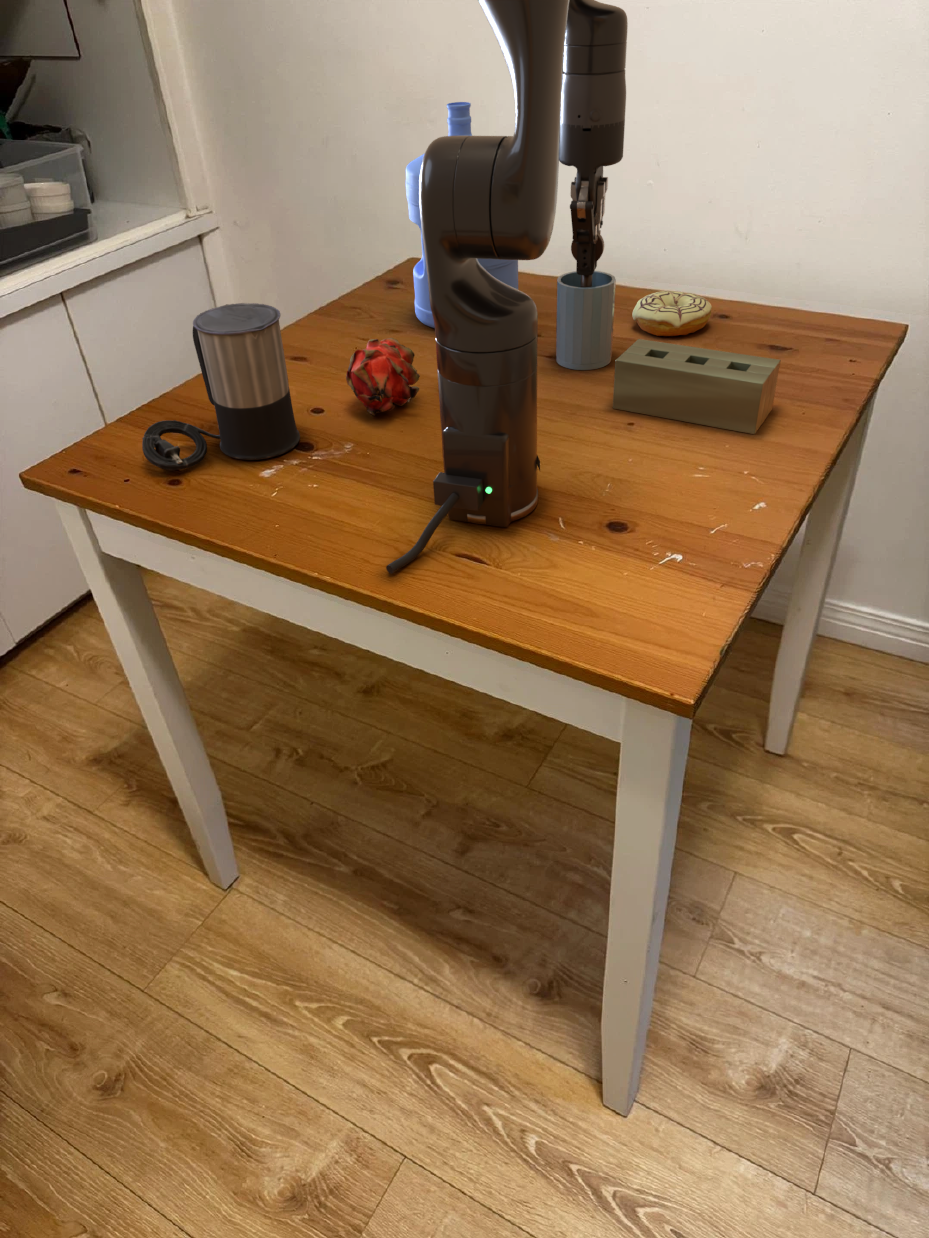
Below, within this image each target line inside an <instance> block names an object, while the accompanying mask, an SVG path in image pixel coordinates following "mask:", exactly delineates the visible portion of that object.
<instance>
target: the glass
mask: <svg viewBox="0 0 929 1238" xmlns="http://www.w3.org/2000/svg"><path fill="white" fill-rule="evenodd" d="M616 283H617V278H616V277H615V276H614V275H613V274H611V273H609V272H605V271H601V270H595V271H594V273H593V274H592V287H581V275H578V274H577V272H576V270H575V271H570V272H566V273H563V274H561V275H559V276H558V277H557V279H556V316H555V317H556V318H555V321H556V325H555V361H556V363H557V364H558V365H559V366H561V367H563V368H565V369H569V370H575V371H592V370H597V369H598V370H599V369H601V368H604V367H606V366H608V365H609V364H611V361H612V354H613V341H614V322H615V321H614V320H615V303H616Z"/></svg>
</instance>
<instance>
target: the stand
mask: <svg viewBox="0 0 929 1238" xmlns="http://www.w3.org/2000/svg"><path fill="white" fill-rule="evenodd" d="M780 365H781V359H777V358H772V357H763V356H757V355H751V354H744V353H737V352H730V351H723V350H717V349H710V348H703V347H697V346H690V345H682V344H677V343H671V342H663V341H657V340H648V339H642V338H637V340H636V341H634V342H633V343H632V344H631V345H630V346H629V347H628V348H627V349H626V350H624V351H623V352H622V353H621V354H620V355H619V356H618V357H617V358H616V359H615V362H614V379H613V395H612V396H613V397H612V409H614V410H618V411H619V410H620V411H625V412H630V413H634V414H635V413H636V414H641V415H648V416H653V417H657V418H662V419H669V420H674V421H679V422H685V423H690V424H696V425H702V426H707V427H712V428H717V429H723V430H728V431H733V432H734V431H735V432H739V433H745V434H750V435H756V433H757V432H758V430H759V429H760V427H761V426H762V425H763V423H764V422H765V420H766V419H767V417H768V416H769V415H770V414H771V412H772V410H773V408H774V402H775V395H776V390H777V384H778V377H779V372H780Z"/></svg>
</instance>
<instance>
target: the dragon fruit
mask: <svg viewBox="0 0 929 1238" xmlns="http://www.w3.org/2000/svg"><path fill="white" fill-rule="evenodd" d="M414 359H415V352H414V351H413V349H411V348H410V347H407V346H405V345H404V344H401V343H400V342H399V341H398V339H395V338H394V337H387V338H383V339H382V340H379V339H378V338H373V339H369V340H368V341H367V343H366V348H364V349H356V350H355V351H354V352H353V354H352V355H351V356H350V359H349V366H348V368H347V371H346V375H345V380H346V383H347V385H348V386H349V387H350V389H351V390H352V392H353V394H354V396H355V397H356V398H357V399H358V400H359V401H360V402H361V403H362V405H363V406H364V407H365V408H366V411H367V412H368V413H369V414H370V415H372V416H374V417H376V416H377V413H383V412H388V411H393V409H395V407H396V406H399V407H400V406H401V407H402V406H404V405H405V404H407V402H408V401H409V400H410V399H414V398H415V397H416V396H417V395H418V393H419V391H420V387H419V386H415V384H417V382H419V380H420V377H421V375H420V373H418V369H416V368H415V367H414V365H413V362H414ZM393 403H394V404H393Z"/></svg>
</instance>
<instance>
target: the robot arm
mask: <svg viewBox="0 0 929 1238" xmlns="http://www.w3.org/2000/svg"><path fill="white" fill-rule="evenodd" d="M477 2H478V4H479V5H480V8H481V11H483V14H484V16H485V18H486V20H487V22H488V23H489V26H490V28H491V30H492V32H493V34H494V36H495V39H496V41H497V44H498V45H499V48H500V51H501V54H502V57H503V58H504V62H505V64H506V68H507V70H508V74H509V76H510V80H511V84H512V90H513V98H514V109H515V110H514V111H515V123H514V124H515V125H514V132H513V135H508V136H507V135H472V136H448V135H443V136H439V137H437V138H435V139H434V140H432V141H431V143H429V144H428V146H427V148H426V150H425V152H424V153H425V154H424V153H423V154H424V157H423V161H422V164H421V170H420V179H419V207H420V217H421V227H422V235H423V243H424V250H425V258H426V267H427V276H428V287H429V298H430V306H431V311H432V315H433V319H434V325H435V328H434V336H435V337H434V338H435V351H436V352H435V353H436V367H437V385H438V399H439V415H440V431H441V445H442V446H441V447H442V462H443V472H442V471H440V472H438V474H437V475H436V477H435V478H434V479H433V480H432V484H433V485H432V486H433V498H434V505H435V506H440V507H439V509H438V510H437V512H435V514H434V515H433V516H432V518H431V519H430V520H429V522H428V523H427V525H426V526H425V528H424V529H423V531H422V533H421V534H420V536H419V538H418V540H417V541H416V542H415V544H414V545H413V547H412V548H411V549H410V550H408V551H407V552H406V553H405V554H403V555H402V556H400V557H399V558H397V559H395V560H393V561H392V562H390V563H388V564H387V565H386V566H385V569H386V571H387V572H388V573H389V574H394V573H395V572H397V571H398V570H400V569H401V568H404V567H405V566H407V565H409V564H410V563H411V562H412V561H414V560H415V559H416V558H417V557H418V556H419V555H420V554H421V553H422V552H423V551H424V549H425V548H426V547H427V545H428V543H429V541H430V540H431V538H432V537H433V535H434V533H435V532H436V530H437V529H438V527H439V526H440V525H441V524H442V522H443V521H444V519H445V518H446V517H447V519H448V520H452V521H459V522H466V523H472V524H479V525H487V526H493V527H498V528H508V527H509V525H510V524H511V523H512V522H515V521H517V520H519V519H522V518H524V517H526V516H528V515H529V514H531V513H532V512H533V511H534V510H535V509H536V507H537V505H538V502H539V489H538V470H539V472H541V460H540V458H539V455H538V331H539V329H538V325H539V324H538V321H539V319H538V317H539V316H538V308H537V305H536V303H535V301H534V299H533V298H532V297H531V296H530V295H528V294H527V293H525V292H524V291H521V290H519V289H518V290H517V289H515V288H513V287H511V286H509V285H507V284H505V283H503V282H501V281H499V280H498V279H496V278H495V277H493V276H492V275H491V274H490V273H488V272H487V271H486V270H485V269H484V268H483V267H482V266H481V265H480V263H479V262H478V260H477V258H478V259H500V260H501V259H503V260H518V261H535V260H537V259H539V258H541V256H542V255H543V254H544V253H545V252H546V250H547V248H548V246H549V244H550V241H551V238H552V235H553V231H554V226H555V225H554V224H555V220H556V213H557V203H558V190H559V189H558V188H559V169H560V164H562V165H564V166H567V167H574V168H575V169H576V175H575V177H574V179H573V180H574V181H571V182H570V198H571V199H572V200H571V201H570V204H569V209H570V219H571V220H570V221H571V230H572V231H571V232H572V238H571V239H572V241H573V242H576V244H577V261H576V270H575V271H576V272H577V274H578V275H592V274H593V273H594V271H596V270H597V267H598V261H596V262H595V252H596V241H597V232H598V233H599V234H600V235H602V234H601V232H602V231H601V229H602V227H603V224H604V221H603V219H604V216H605V213H606V193H607V191H608V189H609V177H608V176H604V167H610V166H614V165H616V164H618V163H620V162H621V161H622V159H624V147H625V146H624V145H625V129H626V127H625V126H626V110H627V108H626V106H627V82H626V81H627V80H626V65H627V49H628V48H627V47H628V30H629V29H628V27H629V26H628V25H629V23H628V22H629V21H628V15H627V13H626V11H625V10H624V9H623V8H622V7H619V6H616V5H612V4H608V3H604V2H600V1H598V0H477ZM584 229H587V230H588V231H589V232H588V231H582V230H584Z"/></svg>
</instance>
